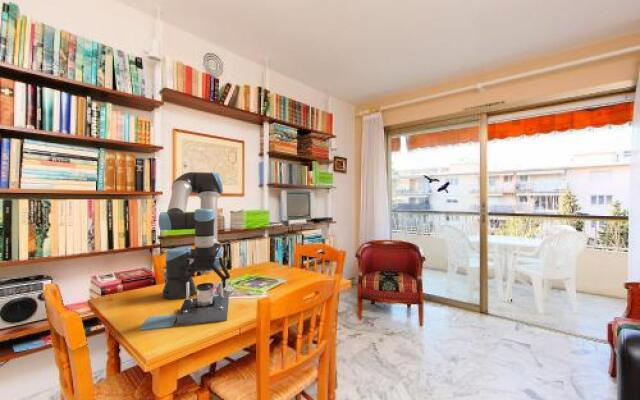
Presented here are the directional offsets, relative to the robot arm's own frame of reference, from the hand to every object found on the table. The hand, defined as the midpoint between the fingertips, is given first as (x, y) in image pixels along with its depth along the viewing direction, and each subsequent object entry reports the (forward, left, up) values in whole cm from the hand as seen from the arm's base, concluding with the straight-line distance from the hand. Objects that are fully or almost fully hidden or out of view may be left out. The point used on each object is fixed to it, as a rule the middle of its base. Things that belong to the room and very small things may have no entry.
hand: (205, 297), depth 121 cm
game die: (-17, +7, -7) cm, 20 cm away
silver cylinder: (0, 0, -7) cm, 7 cm away
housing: (0, 0, -7) cm, 7 cm away
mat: (+4, -16, -7) cm, 18 cm away
